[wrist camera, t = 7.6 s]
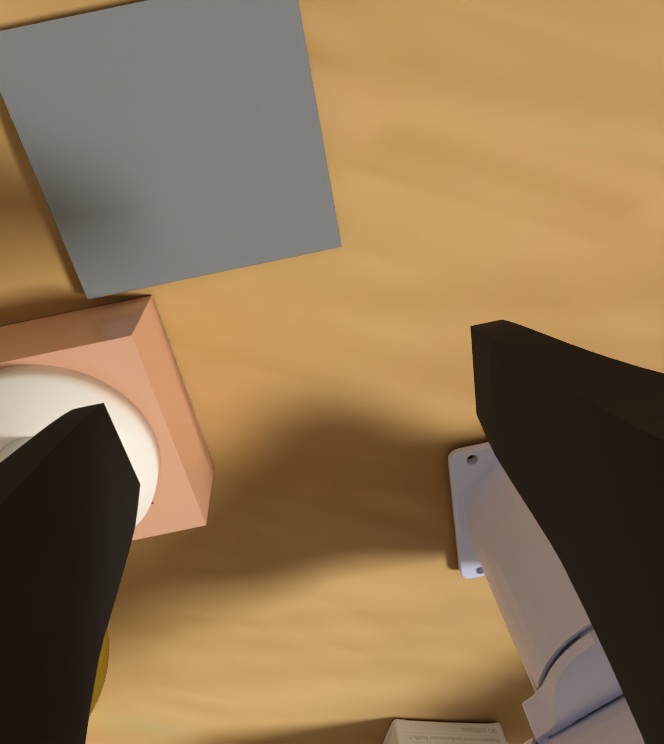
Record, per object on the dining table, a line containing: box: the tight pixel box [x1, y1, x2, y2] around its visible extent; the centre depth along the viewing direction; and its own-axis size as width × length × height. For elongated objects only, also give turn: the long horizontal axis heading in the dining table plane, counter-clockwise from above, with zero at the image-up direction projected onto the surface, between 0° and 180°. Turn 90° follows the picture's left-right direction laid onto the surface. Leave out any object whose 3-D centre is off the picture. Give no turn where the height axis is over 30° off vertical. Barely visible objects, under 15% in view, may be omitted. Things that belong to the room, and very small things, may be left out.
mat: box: [0, 0, 342, 299], centre depth 18 cm, size 9×8×1 cm
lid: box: [0, 364, 161, 526], centre depth 17 cm, size 7×7×6 cm
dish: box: [0, 295, 214, 541], centre depth 21 cm, size 8×8×4 cm
